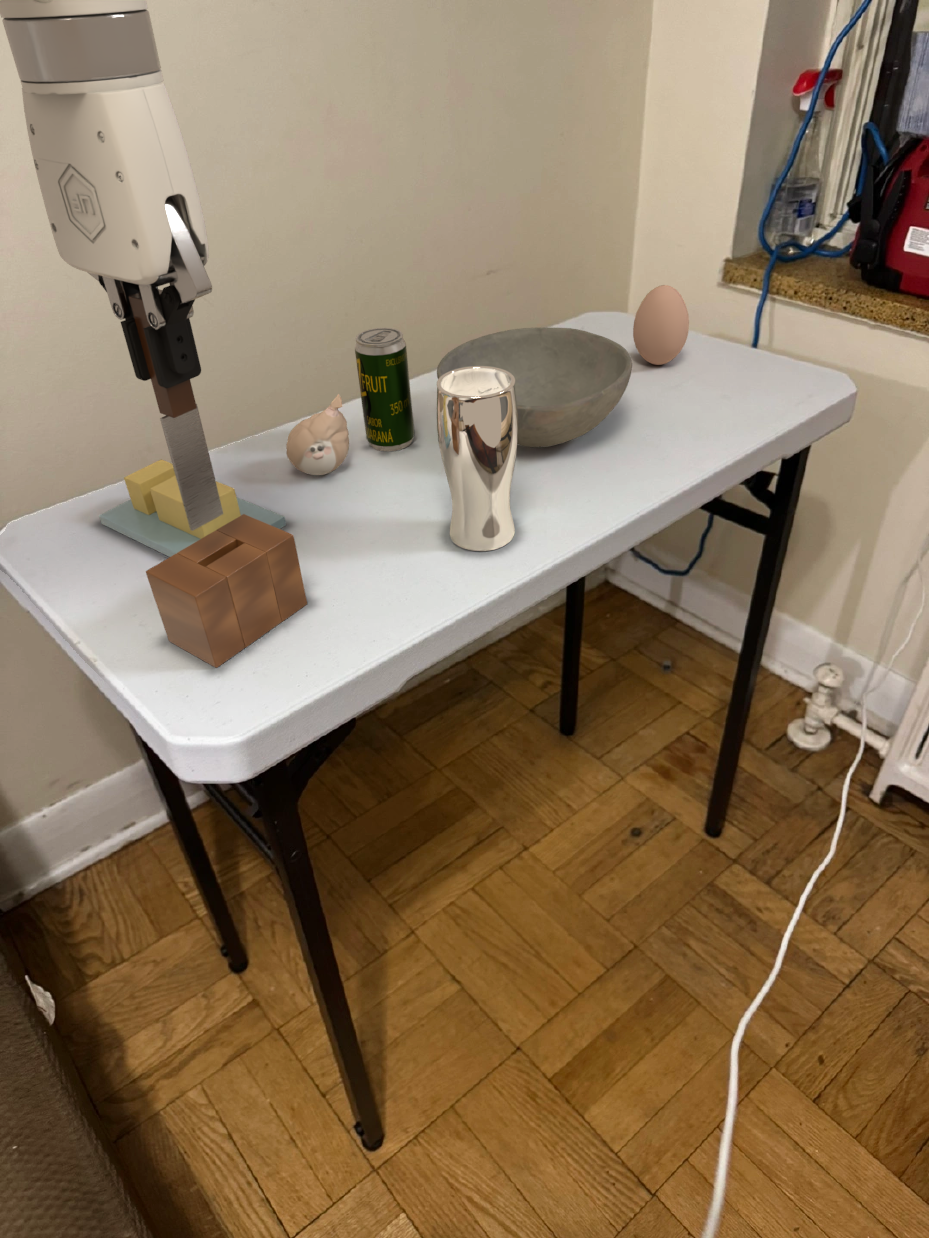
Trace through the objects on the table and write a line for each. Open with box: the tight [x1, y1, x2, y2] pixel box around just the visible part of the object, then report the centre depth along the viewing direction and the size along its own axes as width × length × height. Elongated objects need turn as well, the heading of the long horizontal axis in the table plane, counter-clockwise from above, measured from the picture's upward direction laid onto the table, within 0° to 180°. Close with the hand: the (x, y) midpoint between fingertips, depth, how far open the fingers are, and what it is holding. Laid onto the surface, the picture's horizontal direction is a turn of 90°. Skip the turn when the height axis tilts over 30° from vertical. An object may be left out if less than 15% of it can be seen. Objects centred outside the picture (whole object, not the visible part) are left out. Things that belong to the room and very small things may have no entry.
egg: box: [632, 284, 690, 366], centre depth 108 cm, size 7×7×10 cm
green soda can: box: [354, 327, 415, 452], centre depth 93 cm, size 5×5×12 cm
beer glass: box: [436, 366, 519, 552], centre depth 76 cm, size 7×7×15 cm
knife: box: [128, 288, 223, 531], centre depth 61 cm, size 3×2×17 cm, turn 143°
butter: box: [150, 476, 241, 539], centre depth 83 cm, size 4×7×4 cm, turn 53°
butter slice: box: [123, 458, 176, 515], centre depth 86 cm, size 4×2×4 cm, turn 143°
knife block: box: [145, 514, 308, 669], centre depth 70 cm, size 10×6×7 cm, turn 143°
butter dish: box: [98, 496, 287, 558], centre depth 85 cm, size 10×16×1 cm, turn 53°
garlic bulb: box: [285, 393, 350, 476], centre depth 90 cm, size 7×6×8 cm
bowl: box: [436, 327, 633, 448], centre depth 95 cm, size 21×21×8 cm
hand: (169, 375), depth 59 cm, fingers closed on knife, 1 cm apart
